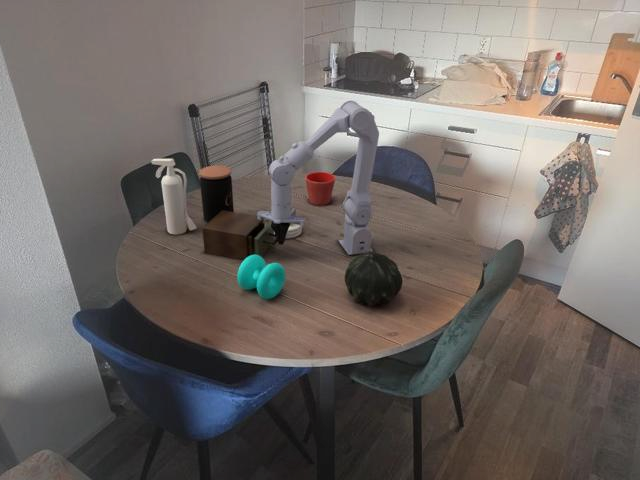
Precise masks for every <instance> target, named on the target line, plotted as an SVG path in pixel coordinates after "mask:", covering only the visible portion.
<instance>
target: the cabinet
mask: <svg viewBox="0 0 640 480" xmlns="http://www.w3.org/2000/svg"><path fill="white" fill-rule="evenodd" d="M261 222H265V219H261V220H260V219H258V217H257V215H256V214H255V215H254V214H249V213H243V212H236V211H234V212H230V211H224V210H222V211H221V212H220V213H219V214H218V215H216V216H215V217H214V218H213V219H212V220H211V221H210V222H209V223H207V222H206V224H205V225H204V226H203V227H202V228H201V229H202V239H203V249H204V254H210V255H214V256H220V257H226V258H231V259H236V260H241V261H244V260H245V259H246V258H247V257H248V256H250V255H248V241H247V237H248V236H249V235H250V233H251V232H252V231H253V230H254V229H255V228H256V227H257V226H258V225H259V224H260V223H261Z"/></svg>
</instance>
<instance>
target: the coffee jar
mask: <svg viewBox="0 0 640 480" xmlns="http://www.w3.org/2000/svg"><path fill="white" fill-rule="evenodd" d="M231 174H232V169H231V168H230V167H229V166H226V165H209V166H206V167H202V168H201V169H200V170H199V171H198V175H199V185H200V186H199V187H200V196H201V206H202V212H203V213H202V214H203V216H202V217H203V220H204V222H206V224H207V223H209V222H210V221H211V220H212V219H213V218H214V217H215V216H216V215H218V214H219V213H220V212H221V211H222V210H224V211H230V212H235V211H234V210H235V209H234V193H233V178H232V175H231Z"/></svg>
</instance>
